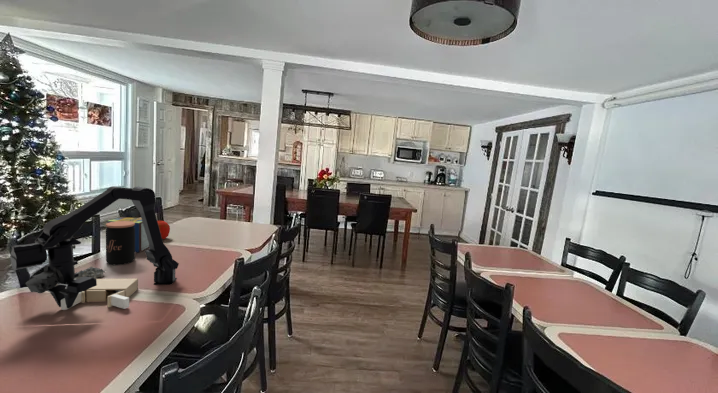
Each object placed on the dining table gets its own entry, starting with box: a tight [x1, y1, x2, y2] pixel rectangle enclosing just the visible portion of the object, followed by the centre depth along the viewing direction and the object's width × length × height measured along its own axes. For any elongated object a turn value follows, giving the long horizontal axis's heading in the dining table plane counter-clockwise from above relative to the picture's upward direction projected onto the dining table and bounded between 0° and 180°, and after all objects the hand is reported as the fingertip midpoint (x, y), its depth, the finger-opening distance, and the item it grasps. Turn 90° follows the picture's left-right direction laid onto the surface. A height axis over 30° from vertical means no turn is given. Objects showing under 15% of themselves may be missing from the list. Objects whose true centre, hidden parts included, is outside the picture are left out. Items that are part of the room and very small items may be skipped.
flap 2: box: [106, 290, 130, 310], centre depth 106 cm, size 6×7×4 cm
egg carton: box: [74, 266, 107, 280], centre depth 124 cm, size 11×8×4 cm
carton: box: [85, 278, 139, 303], centre depth 112 cm, size 17×10×4 cm, turn 103°
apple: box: [157, 220, 171, 240], centre depth 184 cm, size 10×10×12 cm
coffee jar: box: [105, 221, 136, 266], centre depth 144 cm, size 11×11×18 cm
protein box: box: [106, 216, 149, 253], centre depth 162 cm, size 10×15×16 cm
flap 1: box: [60, 291, 86, 311], centre depth 102 cm, size 6×7×4 cm
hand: (65, 307), depth 100 cm, fingers open, 3 cm apart
